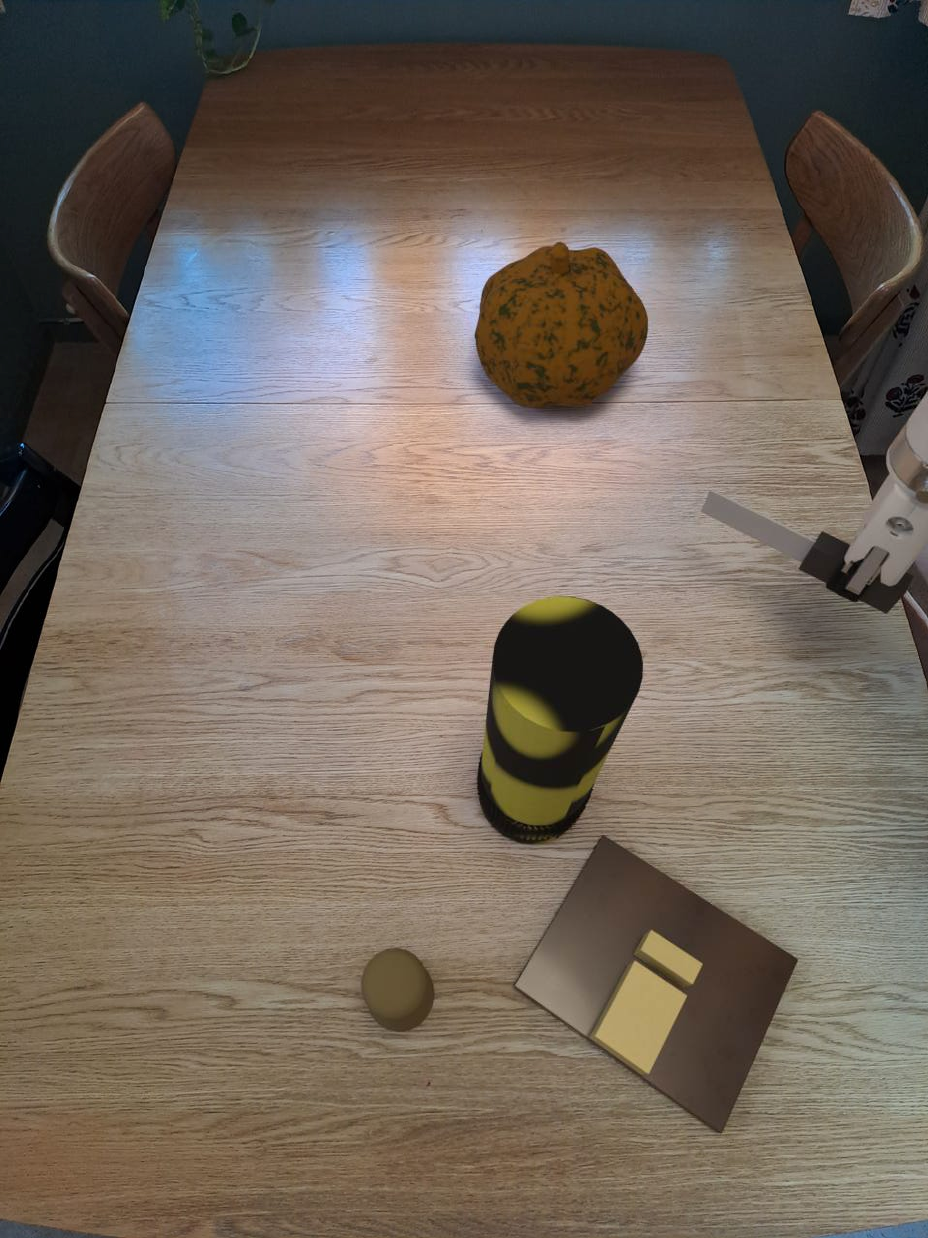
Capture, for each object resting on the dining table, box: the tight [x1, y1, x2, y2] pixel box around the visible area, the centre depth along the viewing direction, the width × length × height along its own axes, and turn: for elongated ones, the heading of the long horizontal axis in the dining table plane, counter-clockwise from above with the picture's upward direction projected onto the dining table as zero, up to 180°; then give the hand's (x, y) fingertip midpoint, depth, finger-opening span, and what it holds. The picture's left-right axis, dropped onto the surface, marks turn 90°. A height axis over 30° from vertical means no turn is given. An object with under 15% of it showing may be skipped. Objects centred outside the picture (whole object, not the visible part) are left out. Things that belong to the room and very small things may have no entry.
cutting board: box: [513, 834, 799, 1134], centre depth 75 cm, size 20×16×2 cm
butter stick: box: [590, 961, 687, 1074], centre depth 71 cm, size 5×7×3 cm
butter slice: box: [634, 930, 703, 988], centre depth 73 cm, size 5×2×3 cm, turn 56°
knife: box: [700, 488, 915, 615], centre depth 81 cm, size 20×2×4 cm, turn 56°
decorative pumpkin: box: [473, 241, 649, 408], centre depth 102 cm, size 20×21×20 cm
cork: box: [360, 947, 435, 1033], centre depth 69 cm, size 6×6×11 cm
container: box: [476, 595, 644, 845], centre depth 70 cm, size 11×11×30 cm
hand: (847, 581), depth 81 cm, fingers closed on knife, 2 cm apart
